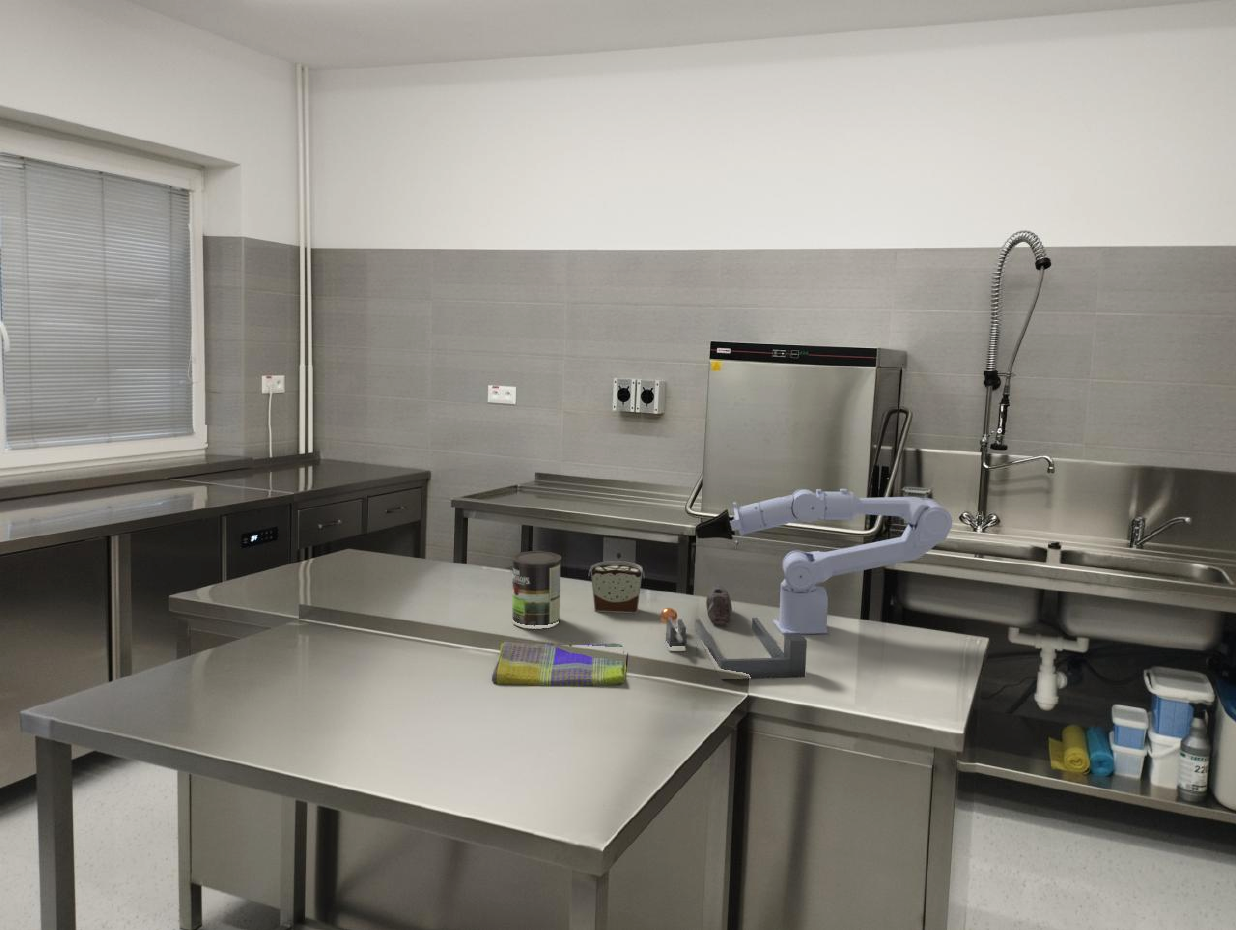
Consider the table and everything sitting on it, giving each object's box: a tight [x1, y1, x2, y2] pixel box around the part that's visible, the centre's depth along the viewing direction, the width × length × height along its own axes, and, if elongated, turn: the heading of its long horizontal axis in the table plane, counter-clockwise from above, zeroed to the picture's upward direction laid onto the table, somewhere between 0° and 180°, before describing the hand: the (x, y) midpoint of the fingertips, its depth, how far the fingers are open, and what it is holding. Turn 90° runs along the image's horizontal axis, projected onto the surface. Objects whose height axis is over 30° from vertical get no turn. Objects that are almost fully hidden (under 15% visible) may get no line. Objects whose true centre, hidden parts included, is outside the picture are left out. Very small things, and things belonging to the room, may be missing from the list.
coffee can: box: [511, 550, 562, 626], centre depth 199 cm, size 10×10×14 cm
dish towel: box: [491, 641, 627, 687], centre depth 175 cm, size 18×24×3 cm
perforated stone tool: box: [705, 585, 733, 626], centre depth 203 cm, size 15×5×7 cm, turn 177°
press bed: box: [665, 617, 808, 680], centre depth 183 cm, size 23×26×7 cm
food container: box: [587, 560, 646, 614], centre depth 209 cm, size 12×6×10 cm, turn 84°
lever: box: [660, 607, 683, 643], centre depth 188 cm, size 3×16×3 cm, turn 6°
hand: (697, 531), depth 197 cm, fingers open, 7 cm apart
